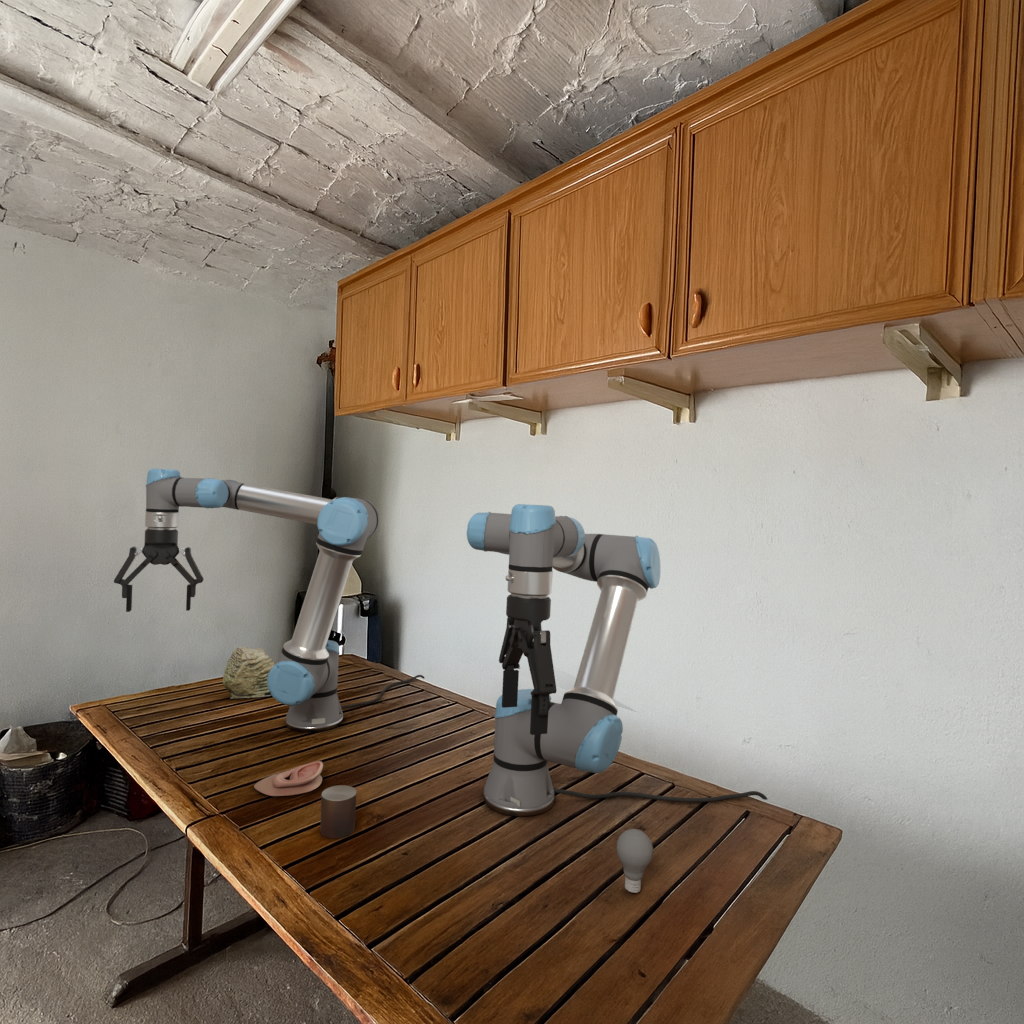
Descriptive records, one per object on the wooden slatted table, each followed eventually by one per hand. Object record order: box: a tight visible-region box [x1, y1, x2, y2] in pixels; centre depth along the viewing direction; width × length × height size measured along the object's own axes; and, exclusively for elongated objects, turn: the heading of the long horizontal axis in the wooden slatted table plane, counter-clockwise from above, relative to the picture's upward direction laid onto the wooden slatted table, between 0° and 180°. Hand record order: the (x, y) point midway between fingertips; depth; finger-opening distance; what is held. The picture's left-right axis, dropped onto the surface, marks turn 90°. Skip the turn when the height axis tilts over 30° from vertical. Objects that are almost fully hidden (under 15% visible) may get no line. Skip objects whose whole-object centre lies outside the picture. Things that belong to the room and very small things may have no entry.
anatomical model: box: [253, 760, 324, 797], centre depth 138 cm, size 13×4×12 cm
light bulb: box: [615, 828, 654, 894], centre depth 106 cm, size 6×6×10 cm
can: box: [319, 784, 357, 840], centre depth 121 cm, size 6×6×7 cm
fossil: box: [222, 646, 276, 699], centre depth 198 cm, size 9×18×15 cm, turn 132°
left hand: (158, 610), depth 164 cm, fingers open, 13 cm apart
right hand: (523, 719), depth 108 cm, fingers open, 13 cm apart
